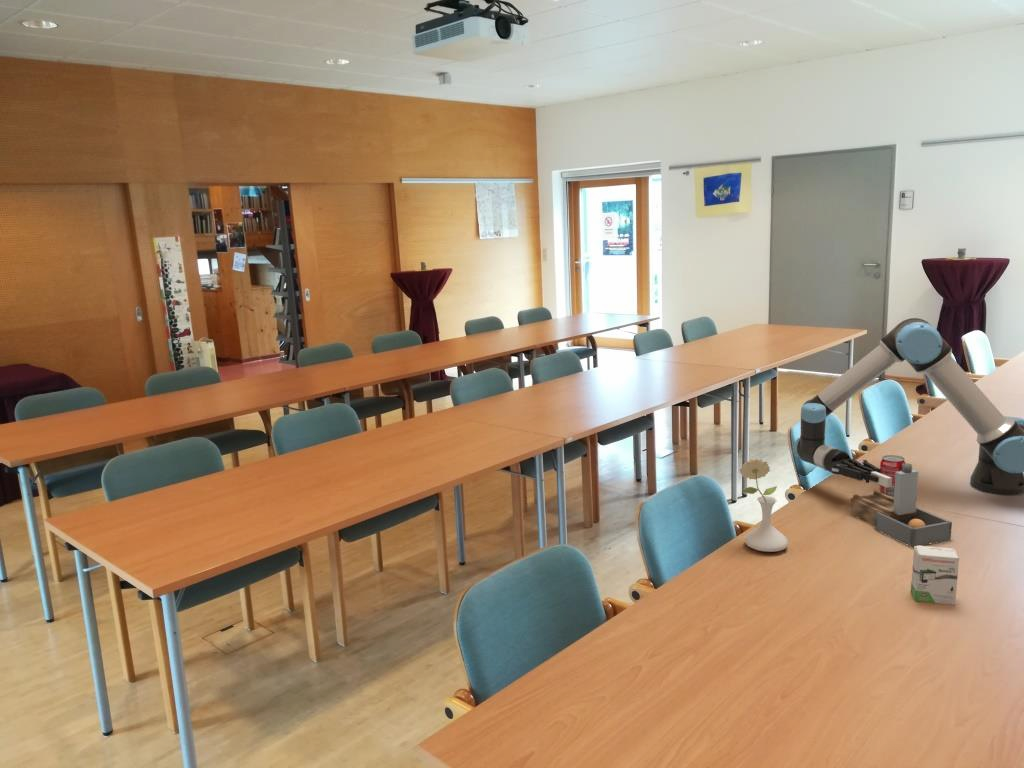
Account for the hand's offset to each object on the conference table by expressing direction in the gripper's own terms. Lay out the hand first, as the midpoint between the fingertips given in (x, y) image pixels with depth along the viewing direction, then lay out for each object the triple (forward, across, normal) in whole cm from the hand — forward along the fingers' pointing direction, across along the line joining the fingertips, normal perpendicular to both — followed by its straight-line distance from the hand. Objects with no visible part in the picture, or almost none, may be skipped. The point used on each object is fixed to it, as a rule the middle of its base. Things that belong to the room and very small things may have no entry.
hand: (889, 482), depth 217 cm
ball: (+11, 0, -9) cm, 14 cm away
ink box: (+39, +23, -12) cm, 47 cm away
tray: (+9, 0, -12) cm, 15 cm away
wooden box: (-2, 0, -12) cm, 12 cm away
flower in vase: (0, +42, -12) cm, 44 cm away
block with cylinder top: (+6, 0, -7) cm, 9 cm away
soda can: (-15, -16, -12) cm, 25 cm away
